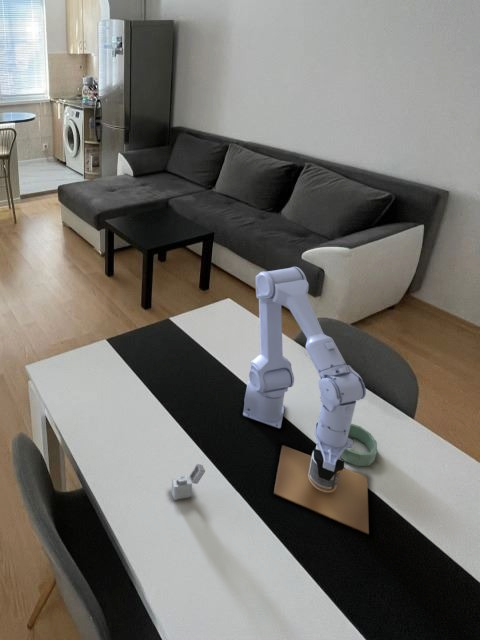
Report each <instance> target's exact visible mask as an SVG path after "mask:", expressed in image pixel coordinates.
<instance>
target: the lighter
mask: <svg viewBox="0 0 480 640" xmlns="http://www.w3.org/2000/svg"><path fill="white" fill-rule="evenodd" d="M205 472H206V469H205V467H204V464H199V463H196V464H195V466H194V468H193V470H192V471H191V472H190V474H189V475H188V476H186V475H182V476H178V477H177V478H174V479H172V480H171V495H172V498H173V500H174V501H178V500H183V499H188V498H191V497H192V491H193V489H192V488H193V484H196V485H198V484H199V482H200V481H201V479H202V478H203V476H204V474H205Z"/></svg>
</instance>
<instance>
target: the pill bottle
mask: <svg viewBox="0 0 480 640" xmlns="http://www.w3.org/2000/svg"><path fill="white" fill-rule="evenodd" d="M315 449H317V450H320V447H319V445H318V442H317V443H316V446H315ZM320 451H321V450H320ZM313 455H314V450H312V453H311V455H310V456H311V463H310V468H309V475H308V476H309V480H310V482H311V483H312V485H313V486H314V487H315V488H317V489H318V490H320V491H323V492H333V491H334V490H335V489H336V487H337V483H338V478H339V473H340V471H338V472H336V473H335V474H334V476H333V477H332V478H331V480H330V481H327V480H325V479H322V478H320V477H319V475H318V466H317V463H316V461H315V460H314V456H313ZM339 459H340V460H341V457H339Z"/></svg>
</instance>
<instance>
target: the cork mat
mask: <svg viewBox="0 0 480 640" xmlns="http://www.w3.org/2000/svg"><path fill="white" fill-rule="evenodd" d="M311 456H312V455H310V454H307V453H304V452H302V451H301V450H297V449H294V448H291V447H289V446H286V445H282V444H281V449H280V455H279V462H278V466H277V472H276V479H275V484H274V490H273V495H276V496H277V497H280V498H282V499H285V500H287V501H289V502H292V503H293V504H296V505H299V506H301V507H303V508H306V509H308V510H310V511H312V512H314V513H317V514H320V515H322V516H324V517H326V518H329V519H331V520H334V521H336V522H338V523H340V524H342V525H345V526H347V527H350V528H351V529H354V530H355V531H356V530H357V531H359V532H361V533H364V534H366V535H369V534H370V527H369V526H370V525H369V524H370V523H369V521H370V520H369V492H368V491H369V490H368V489H369V488H368V487H369V486H368V476H366V475H363V474H361V473H358V472H356V471H353V470H350V469H347V468H345V467H344V468H343V470H341V471H340V473H339V478H338V483H337V487H336V489H335V490H334V491H333V492H323V491H320V490H318V489H317V488H315V487H314V486H313V485H312V483H311V482H310V480H309V476H308V475H309V468H310V463H311Z"/></svg>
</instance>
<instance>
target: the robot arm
mask: <svg viewBox="0 0 480 640" xmlns="http://www.w3.org/2000/svg"><path fill="white" fill-rule="evenodd" d="M309 289H310V284H309V282H308V280H307V276H306V274H305V273H304V271H303V270H302V269H301V268H300V267H297V266H292V267H288V268H287V267H286V268H281V269H276V270H268V271H260V272H259V273H258V274H256V275H255V296H256V299H258V316H259V340H260V341H259V342H260V343H259V344H260V345H259V347H260V353H259V354H258V355H257V356H256V357H254V359H252V360H251V361H250V369H249V373H248V378H249V379H248V381H247V385H246V390H245V394H244V399H243V400H244V401H243V402H244V405H243V411H242V416H243V417H245V418H249V419H251V420H254V421H257V422H260V423H261V424H262V423H263V424H266V425H267V426H271V427H274V428H276V429H281V428H282V422H283V419H284V412H285V406H284V401H285V400H284V399H285V393H286V392H288V391H289V388H292V387H293V386H294V383H295V376H294V375H295V374H294V372H293V369H292V363H291V362H290V360H289V359H288V358H287V357H285V356H284V355H283V352H284V351H283V319H282V306H283V307H287V308H288V309H289V311H290V314H292V316H293V318H294V319H295V321H296V323H297V324H298V327H299V328H300V329H301V331H302V333H303V334H304V336H305V338H306V343H305V350H306V352H307V353H308V356H309V357H310V360H311V362H312V363H313V366H314V368H315V370H316V372H317V374H318V377H320V378H319V379H318V382H317V383H318V390H319V391H320V396H319V399H320V402H321V405H320V411H319V415H318V419H317V420H318V421H317V422H316V426H315V430H314V437H315V439H316V442H317V443H318V445H319V447H320V450H321V451H320V450H317V449H316V448H313V451H314V455H313V456H314V460H315V461H316V463H317V466H318V475H319V477H320V478H322V479H325V480H327V481H330V480H331V478H332V477H333V476H334V474H335V473H336V472H338V471H341V470H343V468H345V461H344V460H343V459H341V457H340V456H341V454H342V453H343V451H344V450H345V449H346V448H348V449H350V450H352V449H353V448H354V441H353V440H352V439H351V438H349V435H348V434H349V430H350V426H351V424H352V421H353V417H354V413H355V408H356V404H357V401H360V400H363V399H365V397H366V396H367V395H366V394H367V390H366V385H365V383H364V381H363V378H362V377H361V375H360V374H359V373H358V372H356V371H355V370H354V369H353V368H352V366H350V364H348V365H347V363H346V361H345V359H344V356H343V355H342V353H341V352H340V350H339V348H338V346H337V345H336V343H335V341H334V339H333V337H331V336H329V335H326V334H325V333H324V331H323V328H322V327H321V324H320V322H319V320H318V317H317V315H316V313H315V311H314V308H313V306H312V303H311V301H310V299H309V296H308V293H309ZM339 457H340V459H339Z"/></svg>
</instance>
